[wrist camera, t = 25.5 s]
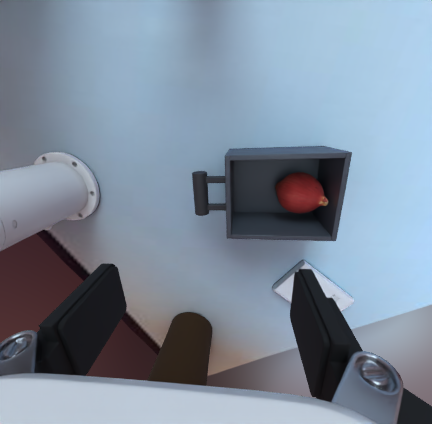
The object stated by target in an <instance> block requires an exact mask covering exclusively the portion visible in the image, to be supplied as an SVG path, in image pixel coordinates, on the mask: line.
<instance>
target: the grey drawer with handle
mask: <svg viewBox="0 0 432 424" xmlns="http://www.w3.org/2000/svg"><path fill="white" fill-rule="evenodd" d="M351 155H352V152H348V151H343V150H339V149H334V148H330V147H326V146H310V147H277V148H244V149H230V150H229V151H228V152H227V154H226V155H225V176H207V172H205V171H197V172H193V173H192V177H193V189H194V202H195V214H196V215H199V216H203V215H207V214H209V210H226V225H227V238H232V239H273V240H315V241H336V238H337V232H338V227H339V221H340V216H341V210H342V205H343V199H344V194H345V188H346V183H347V177H348V172H349V166H350V161H351ZM297 172H304V173H307V174H310V175H311V176H313V177H314V178H316V179H317V180H318V181H319V182H320V184H321V186H322V188H323V191H324V196H325V197H326V198H327V199H328V204H327V205H326V206H319V207H318V208H316V209H315V210H313V211H310V212H307V213H302V214H298V213H293V212H290V211H288V210H286V209H285V208H283V207H282V206H281V204H280V203H279V200H278V196H277V193H276V189H275V186H276V184H277V183H278V182H280V181H281V180H283V179H284V178H285V177H286V176H288V175H289V174H292V173H297ZM207 183H226V204H208V185H207Z"/></svg>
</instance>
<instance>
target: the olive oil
mask: <svg viewBox="0 0 432 424" xmlns="http://www.w3.org/2000/svg"><path fill="white" fill-rule="evenodd" d="M211 338H212V327H211V324H210V323H209V321H208V320H207V319H206V318H204V317H203V316H201V315H199V314H196V313H191V312H186V313H181V314H179V315H177V316H176V317H175V318H174V319H173V321H172V323H171V325H170V328H169V330H168V333H167V335H166V338H165V340H164V343H163V345H162V347H161V350H160V352H159V354H158V357H157V359H156V361H155V364H154V366H153V368H152V371H151V373H150V375H149V377H148V380H147V381H154V382H166V383H178V384H189V385H201V386H206V382H207V373H208V363H209V354H210V346H211Z"/></svg>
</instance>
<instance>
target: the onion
mask: <svg viewBox="0 0 432 424" xmlns="http://www.w3.org/2000/svg"><path fill="white" fill-rule="evenodd" d="M275 189H276V193H277V196H278V200H279V203H280V204H281V206H282V207H283V208H285V209H286V210H288V211H290V212H293V213H298V214H302V213H307V212H310V211H313V210H315V209H316V208H318V207H319V206H326V205H327V204H328V199H327V198H326V197H325V196H324V191H323V188H322V186H321V184H320V182H319V181H318V180H317V179H316V178H314V177H313V176H311V175H310V174H307V173H304V172H297V173H292V174H289V175H288V176H286V177H285V178H284V179H283V180H281V181H280V182H278V183H277V184H276V186H275Z"/></svg>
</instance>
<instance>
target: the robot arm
mask: <svg viewBox="0 0 432 424" xmlns="http://www.w3.org/2000/svg"><path fill="white" fill-rule="evenodd" d="M99 197H100V193H99V187H98V183H97V181H96V179H95V177H94V175H93V173H92V172H91V170H90V169H89V168H88V167H87V166H86V165H85V164H84V163H83V162H82V161H81V160H79V159H78V158H76V157H74V156H73V155H70V154H67V153H63V152H51V153H45V154H43V155H41V156H40V157H38V158H37V159H36V160H35V162H34V163H33V165H32V166H27V167H21V168H15V169H10V170H4V171H0V251H2V250H4V249H6V248H7V247H10V246H12V245H14V244H15V243H18V242H20V241H22V240H23V239H25V238H27V237H29V236H31V235H33V234H35V233H37V232H39V231H41V230H43V229H44V230H50V229H51V227H52V225H53V224H55V223H57V222H59V221H61V220H63V219H65V220H71V221H77V220H81V219H84V218H86V217H88V216H89V215H91V214H92V213H93V212H94V211H95V210H96V208H97V206H98V203H99ZM126 307H127V306H126V301H125V297H124V292H123V288H122V284H121V280H120V276H119V272H118V268H117V267H115V265H114V264H101V265H100V266H99V267H98V268H97V269H96V270H95V271H94V272H93V273H92V274H91V275H90V276H89V277H88V278H87V279H86V280H85V281H84V282H83V283H82V284H81V285H79V287H77V289H76V290H74V291H73V292H72V293H71V294H70V296H68V297H67V298H66V299H65V300H64V301H63V302H62V303H61V304H60V305H59V306H58V307H57V308H56V309H55V310H54V311H53V312H52V313H51V314H50V315H49V316H48V317H47V318H46V319H45V320H44V321H43V322H42V323H41V324H40V325H39V327H40V330H39V331H38V332H37V333H36V332H35V331H31V330H28V331H23V332H20V333H17V334H15V335H13V336H10V337H9V338H7V339H6V340H4V341H3V342H2V343H0V424H432V406H430V405H429V404H427V403H426V402H424V401H423V400H421V399H420V398H418V397H416V396H415V395H414V394H412V393H411V392H409V391H408V390H406V389H405V388H403V381H402V379H401V377H400V375H399V373H398V372H397V371H396V369H395V368H394V367H393V366H392V365H391V364H390V363H389V362H387V361H386V360H384V359H383V358H381V357H380V356H377V355H376V354H373V353H370V352H366V351H363V350H362V349H361V347H360V345H359V343H358V341H357V340H356V338H355V336H354V334H353V333H352V331H351V329H350V327H349V325H348V324H347V322H346V320H345V318H344V316H343V315H342V313H341V311H340V309H339V308H338V306H337V304H336V302H335V301H334V299H333V298H328V297H326V295H325V293H324V292H323V290H322V288H321V286H320V284H319V282H318V280H317V278H316V276H315V274H314V272H313V271H312V269H299V270H298V272H295V274H294V282H293V291H292V300H291V309H290V319H291V323H292V327H293V330H294V334H295V338H296V341H297V345H298V349H299V352H300V356H301V360H302V363H303V367H304V370H305V374H306V378H307V382H308V385H309V389H310V392H311V395H312V397H316V398H317V399H316V398H310V397H304V396H298V395H292V394H282V393H273V392H264V391H255V390H244V389H234V388H222V387H212V386H201V385H189V384H178V383H166V382H154V381H142V380H130V379H117V378H104V377H92V376H86V374H87V373H88V371H89V370H90V368H91V366H92V365H93V363H94V362H95V360H96V358H97V357H98V355H99V354H100V352H101V350H102V349H103V347H104V345H105V344H106V342H107V341H108V339H109V337H110V336H111V334H112V333H113V331H114V329H115V327H116V326H117V324H118V323H119V321H120V320H121V318H122V316H123V315H124V313H125V311H126Z"/></svg>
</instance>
